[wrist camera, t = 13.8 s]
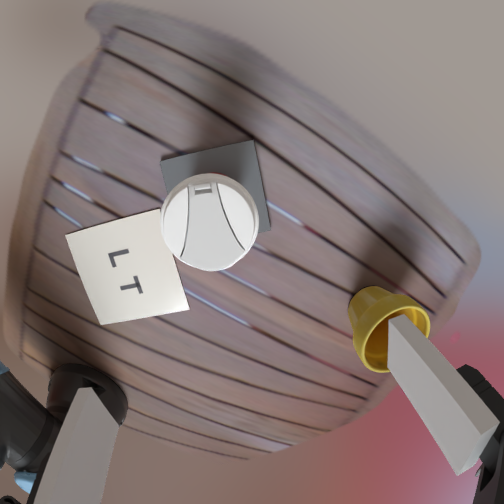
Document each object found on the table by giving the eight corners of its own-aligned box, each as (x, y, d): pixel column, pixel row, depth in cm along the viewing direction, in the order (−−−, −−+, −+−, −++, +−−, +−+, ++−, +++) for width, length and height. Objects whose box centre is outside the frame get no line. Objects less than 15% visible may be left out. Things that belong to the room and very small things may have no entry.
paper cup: (177, 168, 34) (148, 183, 21) (243, 159, 35) (255, 168, 22) (186, 232, 37) (167, 282, 24) (250, 224, 37) (265, 271, 24)
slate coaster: (183, 247, 38) (182, 249, 38) (160, 161, 34) (159, 161, 34) (270, 228, 38) (270, 230, 38) (252, 139, 35) (253, 139, 34)
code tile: (101, 324, 41) (100, 325, 41) (65, 234, 36) (65, 235, 36) (189, 308, 41) (189, 309, 41) (159, 208, 36) (159, 208, 36)
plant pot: (405, 273, 42) (441, 304, 33) (388, 332, 46) (416, 368, 37) (344, 272, 41) (373, 306, 32) (330, 335, 45) (351, 377, 36)
